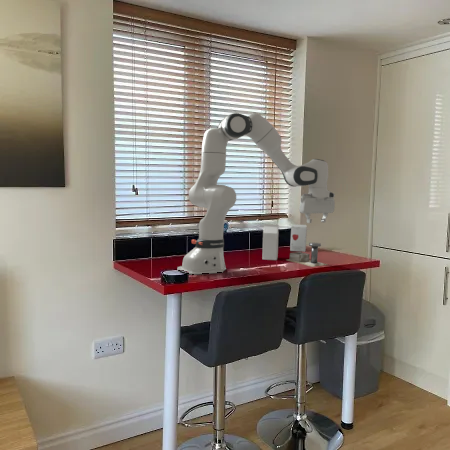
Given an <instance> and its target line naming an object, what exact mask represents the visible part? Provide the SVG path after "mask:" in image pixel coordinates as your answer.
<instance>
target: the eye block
mask: <svg viewBox="0 0 450 450" xmlns="http://www.w3.org/2000/svg"><path fill="white" fill-rule="evenodd" d="M310 257H311V255H310V253H306V252H302V251H294V252H289V259H286V261H288V262H291V263H295V264H299V265H304V266H308V267H312V268H313V267H321V266H328V265H329V264H328V263H323V262H320V261H317V263H316V264H314V263H311V259H310Z"/></svg>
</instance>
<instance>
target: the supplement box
mask: <svg viewBox="0 0 450 450" xmlns="http://www.w3.org/2000/svg"><path fill="white" fill-rule="evenodd" d="M307 228H308V226H307V224H295V223H294V224H293V223H292V224H291V228H290V229H291V230H290V245H289V246H290V247H289V248H290V249H289V250H290V252H302V253H306V248H307V236H308V235H307V232H308V231H307V230H308V229H307Z"/></svg>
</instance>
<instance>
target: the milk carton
mask: <svg viewBox="0 0 450 450" xmlns="http://www.w3.org/2000/svg"><path fill="white" fill-rule="evenodd" d="M278 254H279V224H273V223H272V224H271V223H270V224H269V223H264V225H263V231H262V257H261V258H262V260H265V261H266V260H267V261H277V260H278V256H279V255H278Z"/></svg>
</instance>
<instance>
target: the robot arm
mask: <svg viewBox="0 0 450 450" xmlns="http://www.w3.org/2000/svg"><path fill="white" fill-rule="evenodd" d="M244 136H247V137H248V138H250V139H251V140H252V141H253V142H254V143H255V144H256V146H257V147H258V148H259V149H260V150H262V151H263V153H265V154H266V156H268V157H269V158H270V159H271V161H272V162H273V163H274V165H276V167H277V168H278V169H279V171H280V172H281V173H282V177H283V179H284V182H285V183H286V184H287V185H288V186H290V187H305V186H308V193H303V194H302V195H301V196H300V201H299V202H300V203H299V208H298V212H299V213H300V214H304V216H305V219H306V223H307V224H312V220H313V219H312V218H311V217H310V216H311V214H322V218H320V222H321V223H326V222H327V218H328V216H329V214H333V213H334V211H335V208H336V207H335V201H336V200H335V197H336V193H335V192H333V191H330V190H328V181H329V164H328V162H327V161H326V160H324V159H319V158H312V159H311V160H310V161H308V162H305V163H303V164H301V165H296V164H294V163H292V161H290V159H289V158H288V156H286V155H285V152H283V150H282V137H281V135H280V133H279V131H278V130H276V128H275V127H274V126H273V124H271V122H270V121H268V120H267V119H266V118H265V117H264V116H263V115H262V114H260V113H257V112H255V113H250V114H248V115H245V114H242V113H238V112H235V113H231V114H228V115H226V116H225V117H224V118H222V119H221V121H220V122H219V124H218V125H217V126H216V127H215V128H214V127H213V128H209V129H207V130H206V131H205V132H204V134H203V139H202V145H201V158H200V170H199V174H198V177H197V179H196V181H195V183H194V184H193V185H192V187H191V188H189V190H188V191H189V192H188V200H189V202H190V204H192V206H193V205H194V206H196V207H199V208H202V209H203V208H204V209H206V213H205V216H204V217H203V218H201V219H200V221H199V225H198V227H199V228H198V231H199V232H198V238H197V240H196V239H191V244H193V245H195V247H193V249H191V250H190V251H189V252H187V254H185V255H184V257H183V259H182V265H180V266H177V271H178V270H184V271H188V272H189V274H188V275H192V274H194V275H203V274H202V273H209V274H218V273H217V272H222V273H224V271H226V270H227V268H226V262H225V257H224V255H225V254H224V249H225V238H224V226H225V220H226V217H227V214H228V212H229V211H230V210H231V209H232V208H233V207H234V206H235V204H236V202H237V193H236V191H235V189H234V188H233V187H231V186H229V185H226V184H218V181H219V178H220V177H221V176H222V175H223V174H224V173H225V171H226V162H227V161H226V159H227V145H228V143H229V141H233V140H238V139H240V138H241V137H244Z"/></svg>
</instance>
